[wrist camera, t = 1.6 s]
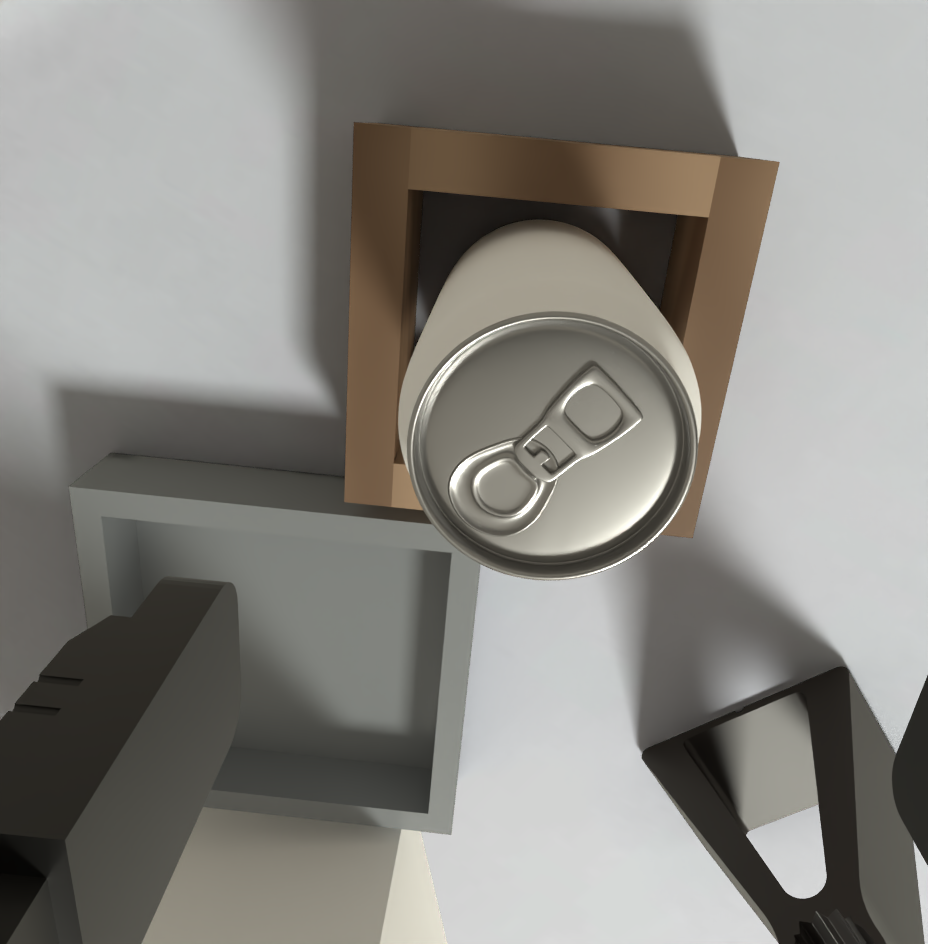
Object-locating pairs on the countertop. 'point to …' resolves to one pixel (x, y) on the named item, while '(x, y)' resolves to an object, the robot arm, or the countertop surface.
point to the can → (548, 407)
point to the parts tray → (303, 629)
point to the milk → (297, 884)
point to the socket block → (546, 180)
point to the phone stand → (795, 789)
